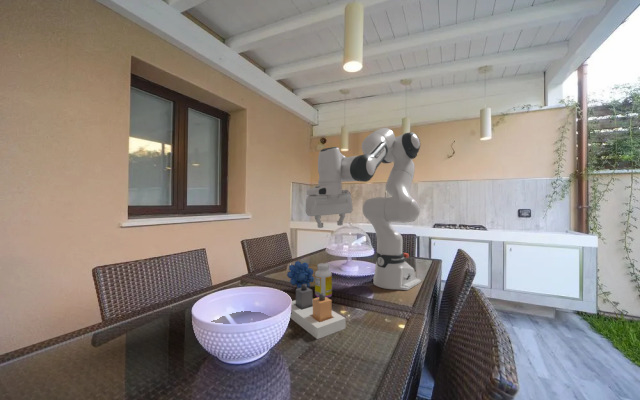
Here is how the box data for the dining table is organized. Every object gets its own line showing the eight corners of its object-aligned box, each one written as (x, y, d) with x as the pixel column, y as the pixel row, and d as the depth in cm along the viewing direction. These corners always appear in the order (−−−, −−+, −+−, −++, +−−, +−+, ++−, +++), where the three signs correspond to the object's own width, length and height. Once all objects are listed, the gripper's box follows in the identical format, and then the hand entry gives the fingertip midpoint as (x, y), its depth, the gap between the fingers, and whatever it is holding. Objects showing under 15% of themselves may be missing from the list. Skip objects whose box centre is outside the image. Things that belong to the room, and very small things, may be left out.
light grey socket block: (308, 307, 93) (308, 296, 92) (345, 331, 76) (345, 318, 76) (283, 315, 87) (283, 303, 87) (317, 342, 70) (317, 328, 70)
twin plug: (306, 310, 88) (306, 282, 88) (312, 314, 85) (312, 285, 85) (295, 313, 86) (295, 284, 86) (302, 317, 83) (301, 288, 83)
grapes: (288, 293, 106) (288, 264, 106) (286, 288, 112) (286, 260, 112) (316, 291, 109) (316, 262, 108) (312, 285, 115) (312, 258, 115)
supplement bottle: (332, 294, 105) (332, 262, 105) (331, 300, 99) (331, 267, 99) (315, 293, 106) (315, 262, 106) (313, 300, 99) (313, 266, 99)
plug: (323, 321, 80) (323, 291, 80) (331, 327, 77) (331, 295, 77) (312, 325, 78) (312, 293, 78) (320, 331, 75) (320, 298, 74)
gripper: (345, 189, 107) (345, 223, 108) (302, 190, 95) (303, 228, 96) (355, 189, 102) (356, 224, 103) (312, 190, 90) (313, 230, 91)
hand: (330, 226), depth 99 cm, fingers open, 8 cm apart
